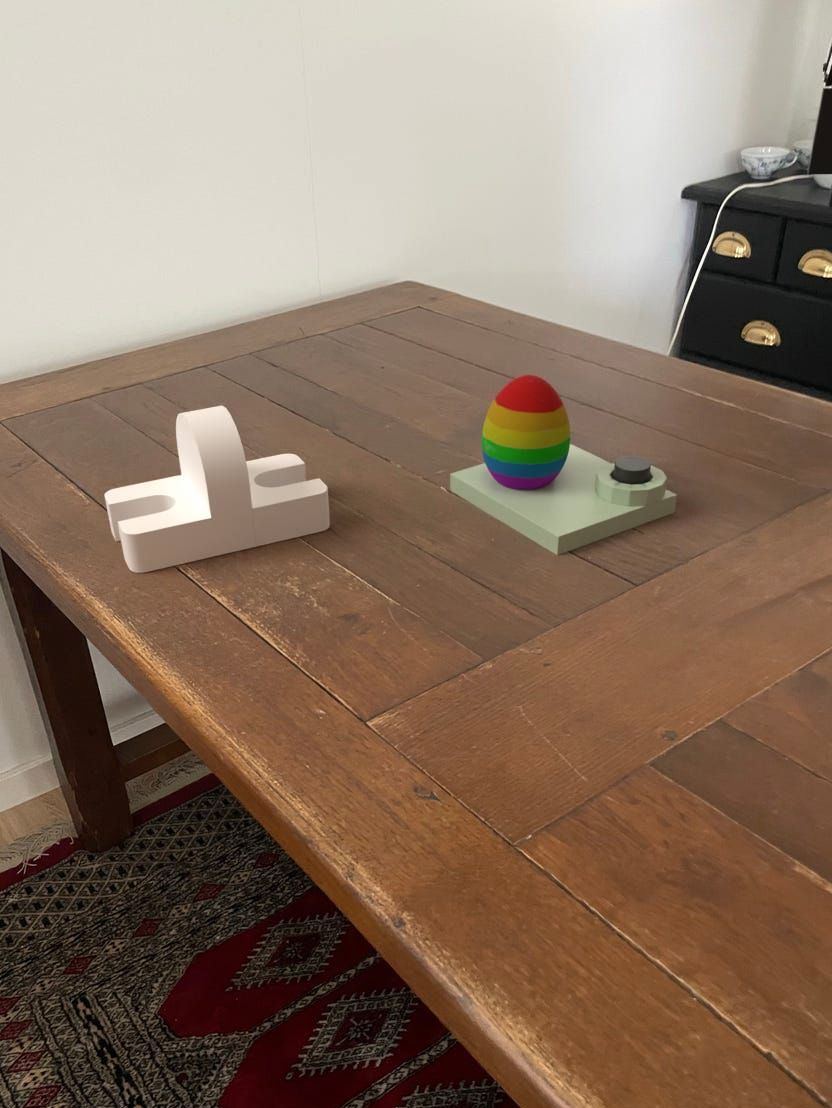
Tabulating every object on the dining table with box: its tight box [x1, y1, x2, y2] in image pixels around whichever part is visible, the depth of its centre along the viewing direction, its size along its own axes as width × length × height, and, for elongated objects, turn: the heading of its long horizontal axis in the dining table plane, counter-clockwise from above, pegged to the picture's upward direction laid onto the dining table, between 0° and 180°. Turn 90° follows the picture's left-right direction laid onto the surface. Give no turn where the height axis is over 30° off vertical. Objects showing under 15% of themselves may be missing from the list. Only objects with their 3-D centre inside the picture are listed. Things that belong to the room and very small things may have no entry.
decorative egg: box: [481, 374, 571, 490], centre depth 95 cm, size 8×8×10 cm
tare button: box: [613, 456, 652, 485], centre depth 93 cm, size 3×3×2 cm
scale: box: [449, 443, 678, 556], centre depth 97 cm, size 16×14×4 cm
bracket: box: [104, 405, 331, 574], centre depth 93 cm, size 19×10×11 cm, turn 113°
